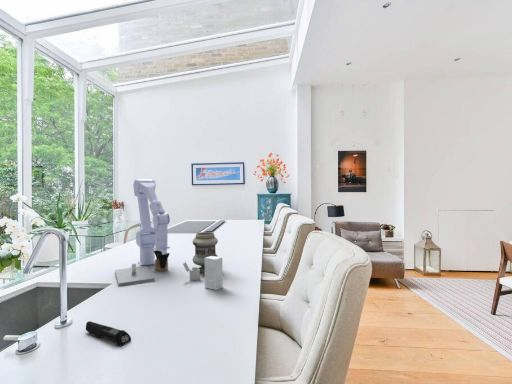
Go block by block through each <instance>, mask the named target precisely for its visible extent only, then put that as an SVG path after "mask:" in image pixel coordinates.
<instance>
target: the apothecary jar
mask: <svg viewBox="0 0 512 384" xmlns="http://www.w3.org/2000/svg"><path fill="white" fill-rule="evenodd" d="M215 236H216V235H215V233H214V232H213V231H201V232H196V235H195V238H193V240H192V244H193V246H194V249H195V250H194V251H195V252H194V256H192V262H193V263H194V264H195V265H197V266H199V267H197V268H198V269H200V275H201V274H203V275H205V258H206V257H209V256H215V257H219V256H218V254H217V252H216V245H217V244H218V238H217V237H215Z"/></svg>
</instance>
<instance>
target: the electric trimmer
mask: <svg viewBox="0 0 512 384" xmlns="http://www.w3.org/2000/svg"><path fill="white" fill-rule="evenodd" d="M85 330H86V332H88V333H89V334H92V335H93V336H94V337H96V338H98V339H101V338H103V339H106V340H109V341H112V342H114V343H116V346H118V347H121V346H122V347H123V346H125V345H126V344H128V343H130V342H132V337H131V335H130V334H129V333H128V332H127V331H126V330H124V329H119V328H114V327H111V326H107V325H104V324H101V323H98V322H94V321H90V320H89V321H87V322H86V324H85Z"/></svg>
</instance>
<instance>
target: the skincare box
mask: <svg viewBox="0 0 512 384" xmlns="http://www.w3.org/2000/svg"><path fill="white" fill-rule="evenodd" d="M223 273H224V272H223V257H222V256H218V257H215V256H209V257H206V258H205V274H204V288H205V289H210V290H215V291H217V290H220V289H221V288H223V286H224V285H223V284H224V281H223V280H224V279H223V275H224V274H223Z"/></svg>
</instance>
